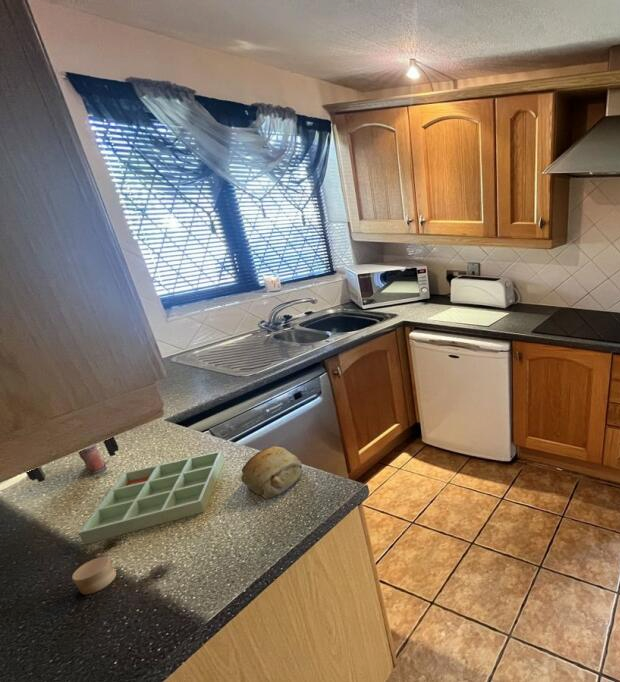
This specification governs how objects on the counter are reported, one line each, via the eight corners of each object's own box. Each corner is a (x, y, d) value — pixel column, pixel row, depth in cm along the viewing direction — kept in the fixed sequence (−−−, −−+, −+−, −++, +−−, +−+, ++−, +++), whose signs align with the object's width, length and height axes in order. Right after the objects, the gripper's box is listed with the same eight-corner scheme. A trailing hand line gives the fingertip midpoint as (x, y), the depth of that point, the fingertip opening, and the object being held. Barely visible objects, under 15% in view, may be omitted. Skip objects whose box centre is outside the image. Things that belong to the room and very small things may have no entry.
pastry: (256, 466, 98) (248, 440, 95) (309, 458, 101) (302, 432, 98) (233, 506, 85) (223, 477, 82) (294, 495, 88) (287, 467, 85)
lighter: (84, 465, 100) (67, 432, 96) (102, 458, 102) (86, 426, 99) (90, 477, 95) (74, 443, 92) (109, 469, 98) (93, 436, 94)
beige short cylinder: (74, 598, 66) (65, 584, 65) (88, 576, 70) (80, 562, 68) (109, 588, 68) (101, 573, 66) (121, 566, 71) (114, 553, 70)
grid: (84, 544, 76) (77, 533, 75) (128, 482, 93) (123, 472, 92) (204, 511, 84) (200, 501, 83) (225, 459, 101) (221, 450, 100)
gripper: (97, 363, 69) (130, 439, 75) (-34, 393, 59) (16, 478, 65) (101, 374, 64) (136, 454, 70) (-41, 408, 54) (14, 499, 60)
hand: (78, 466), depth 67 cm, fingers open, 8 cm apart
